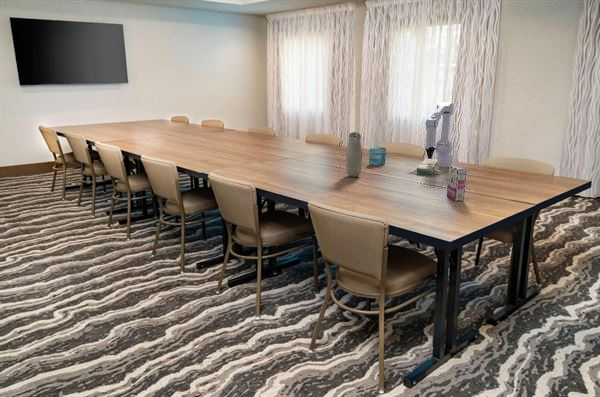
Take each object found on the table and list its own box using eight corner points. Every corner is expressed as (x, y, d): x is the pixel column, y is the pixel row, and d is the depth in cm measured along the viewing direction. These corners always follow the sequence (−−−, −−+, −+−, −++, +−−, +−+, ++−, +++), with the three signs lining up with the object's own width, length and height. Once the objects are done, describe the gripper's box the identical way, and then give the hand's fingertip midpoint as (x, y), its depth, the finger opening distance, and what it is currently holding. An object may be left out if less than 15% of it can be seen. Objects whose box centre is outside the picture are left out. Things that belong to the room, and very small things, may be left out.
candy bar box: (464, 201, 233) (467, 169, 229) (454, 201, 233) (457, 169, 229) (455, 195, 244) (457, 165, 240) (446, 196, 244) (448, 165, 240)
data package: (373, 165, 327) (373, 148, 324) (368, 164, 330) (369, 148, 327) (385, 164, 333) (386, 147, 330) (380, 163, 337) (381, 146, 334)
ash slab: (423, 160, 303) (416, 168, 295) (437, 161, 298) (430, 169, 290) (423, 166, 305) (416, 173, 297) (437, 167, 300) (430, 175, 292)
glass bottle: (344, 177, 290) (344, 132, 282) (348, 174, 299) (349, 130, 292) (359, 178, 286) (360, 133, 279) (363, 175, 296) (364, 131, 288)
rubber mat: (419, 169, 314) (419, 165, 313) (448, 172, 303) (448, 168, 302) (407, 174, 297) (407, 170, 297) (437, 178, 286) (438, 174, 286)
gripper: (429, 135, 303) (427, 156, 307) (420, 138, 292) (419, 159, 295) (439, 136, 299) (438, 157, 303) (431, 139, 288) (430, 160, 291)
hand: (429, 158), depth 299 cm, fingers closed
